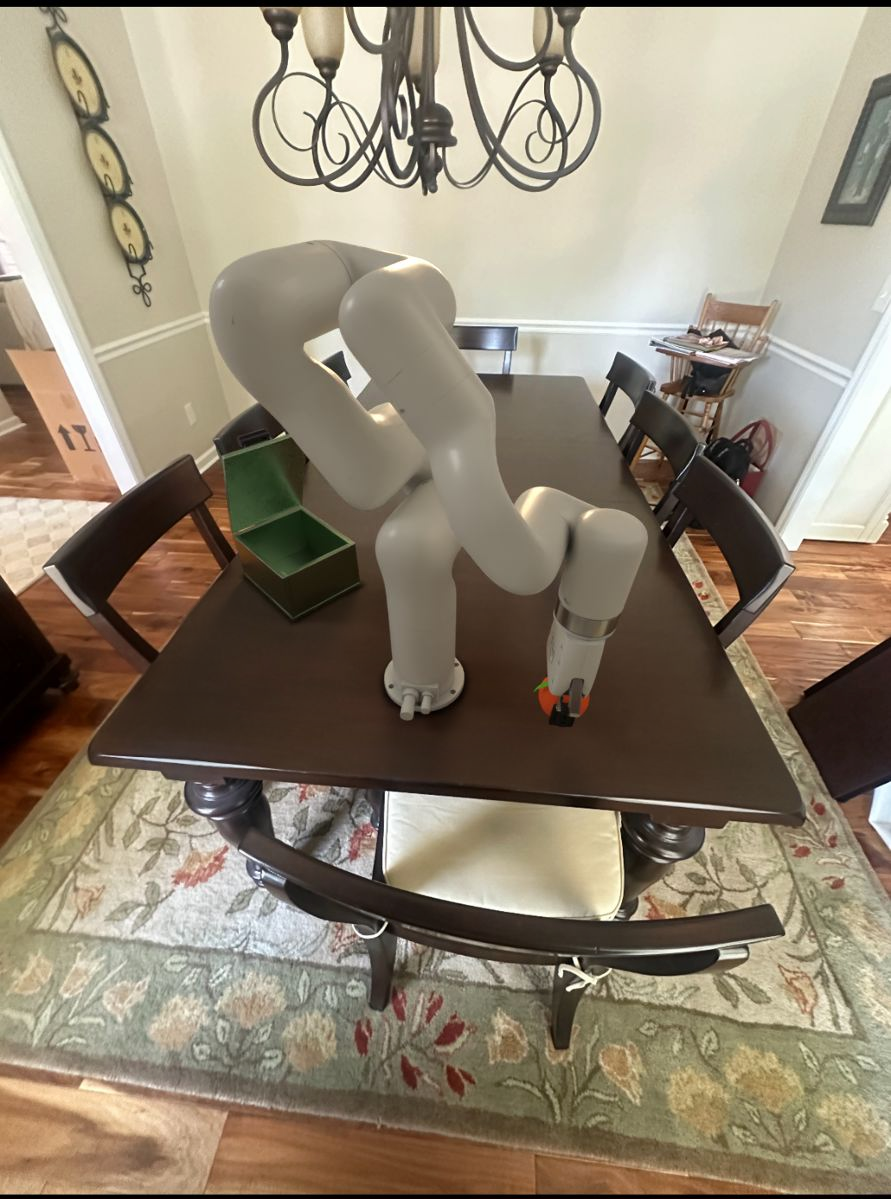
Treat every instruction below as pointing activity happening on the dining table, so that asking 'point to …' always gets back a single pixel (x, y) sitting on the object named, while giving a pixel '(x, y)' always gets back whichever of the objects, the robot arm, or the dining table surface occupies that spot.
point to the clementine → (555, 698)
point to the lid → (262, 478)
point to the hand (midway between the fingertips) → (558, 700)
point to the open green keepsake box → (298, 561)
